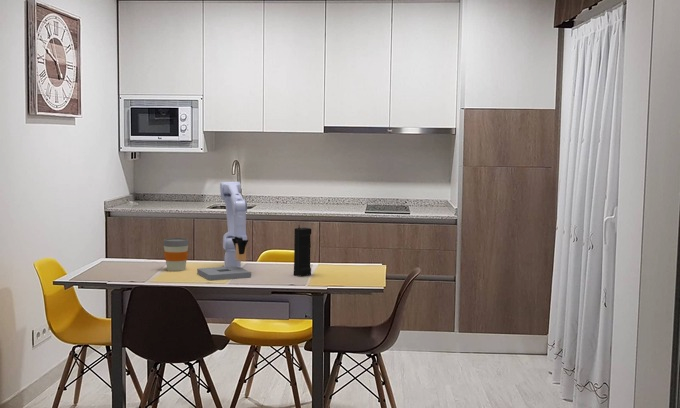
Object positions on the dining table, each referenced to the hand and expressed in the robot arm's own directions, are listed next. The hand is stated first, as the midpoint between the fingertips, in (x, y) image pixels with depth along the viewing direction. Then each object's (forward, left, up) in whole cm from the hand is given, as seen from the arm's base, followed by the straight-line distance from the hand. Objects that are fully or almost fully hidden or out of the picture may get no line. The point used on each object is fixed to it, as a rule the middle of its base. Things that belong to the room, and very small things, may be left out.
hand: (239, 253), depth 384 cm
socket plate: (+1, -9, -10) cm, 13 cm away
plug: (0, +1, -3) cm, 3 cm away
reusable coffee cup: (-25, -25, -10) cm, 36 cm away
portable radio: (+15, +26, -10) cm, 32 cm away
